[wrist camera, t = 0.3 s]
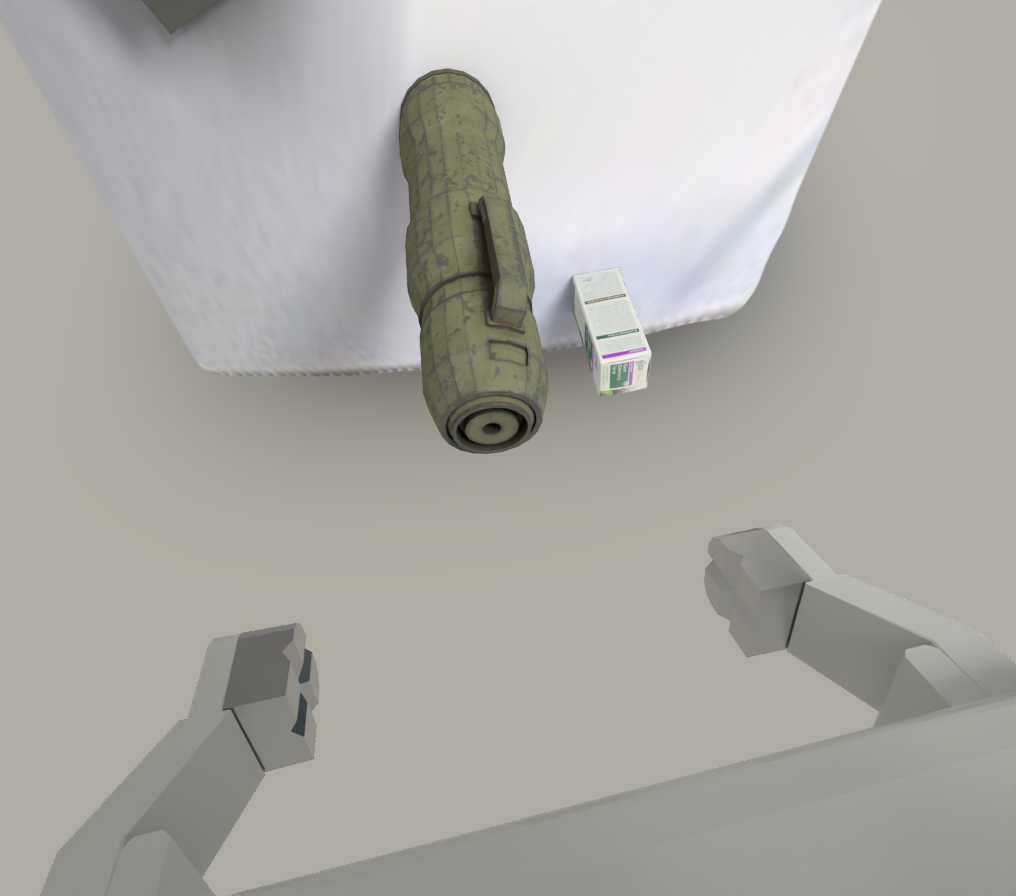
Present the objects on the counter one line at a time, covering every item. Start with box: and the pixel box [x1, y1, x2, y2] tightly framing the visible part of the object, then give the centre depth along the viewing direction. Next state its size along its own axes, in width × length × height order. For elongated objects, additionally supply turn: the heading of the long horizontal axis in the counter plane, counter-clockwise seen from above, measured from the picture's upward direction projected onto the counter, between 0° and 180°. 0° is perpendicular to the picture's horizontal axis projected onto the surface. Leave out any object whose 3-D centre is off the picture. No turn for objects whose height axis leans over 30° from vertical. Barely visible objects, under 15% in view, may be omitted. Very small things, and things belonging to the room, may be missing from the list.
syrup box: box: [572, 268, 651, 396], centre depth 68 cm, size 6×6×14 cm
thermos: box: [399, 69, 548, 454], centre depth 44 cm, size 9×12×35 cm
